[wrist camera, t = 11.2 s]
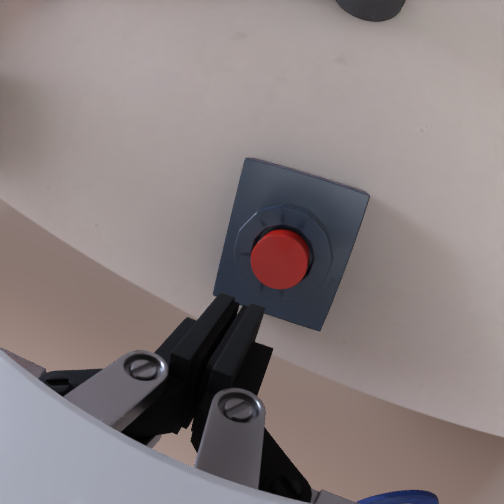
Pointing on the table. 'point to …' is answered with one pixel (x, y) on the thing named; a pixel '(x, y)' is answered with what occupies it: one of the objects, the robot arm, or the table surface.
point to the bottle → (372, 8)
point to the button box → (300, 221)
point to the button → (280, 259)
